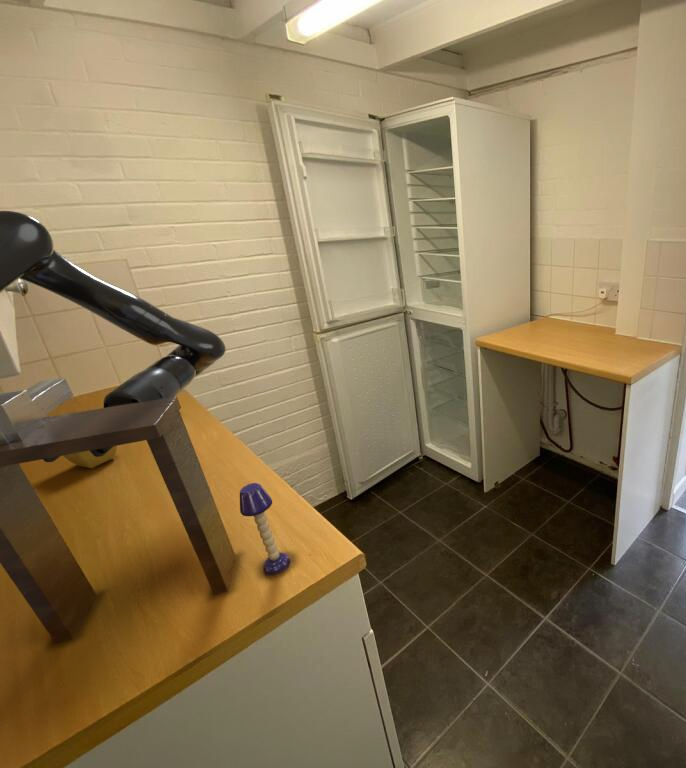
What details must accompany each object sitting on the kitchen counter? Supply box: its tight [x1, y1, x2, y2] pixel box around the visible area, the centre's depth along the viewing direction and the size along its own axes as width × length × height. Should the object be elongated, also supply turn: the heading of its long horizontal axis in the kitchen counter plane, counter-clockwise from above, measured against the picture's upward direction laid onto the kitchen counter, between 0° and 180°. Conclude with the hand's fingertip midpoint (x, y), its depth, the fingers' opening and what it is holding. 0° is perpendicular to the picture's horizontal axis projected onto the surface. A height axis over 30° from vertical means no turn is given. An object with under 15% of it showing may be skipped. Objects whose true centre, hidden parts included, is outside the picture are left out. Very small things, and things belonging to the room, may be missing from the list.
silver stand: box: [0, 377, 74, 445], centre depth 57 cm, size 5×16×5 cm, turn 23°
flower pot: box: [62, 445, 118, 469], centre depth 105 cm, size 9×9×9 cm
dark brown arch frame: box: [0, 396, 237, 644], centre depth 62 cm, size 22×10×32 cm, turn 113°
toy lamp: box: [239, 482, 291, 576], centre depth 71 cm, size 5×5×17 cm
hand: (68, 455), depth 65 cm, fingers open, 8 cm apart
